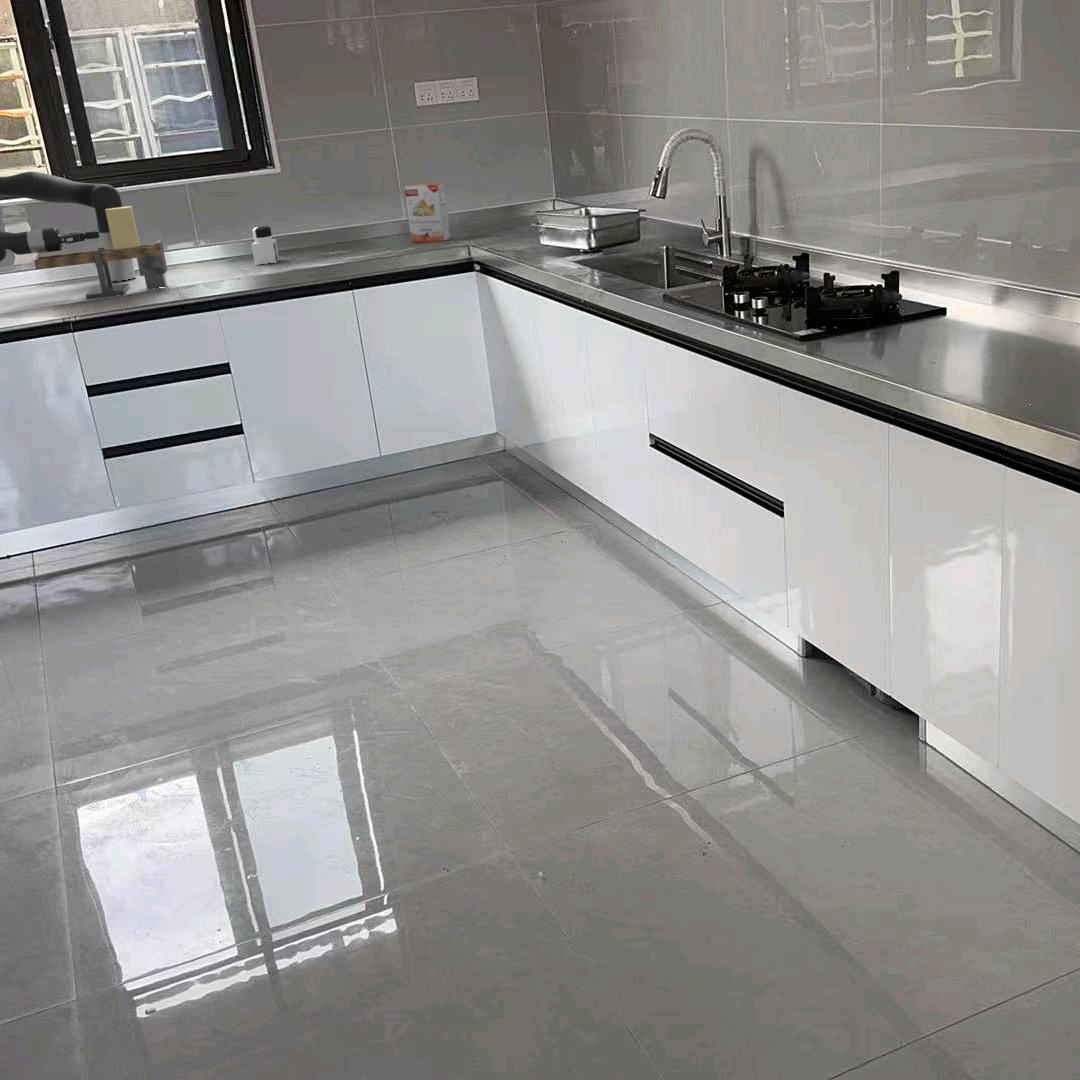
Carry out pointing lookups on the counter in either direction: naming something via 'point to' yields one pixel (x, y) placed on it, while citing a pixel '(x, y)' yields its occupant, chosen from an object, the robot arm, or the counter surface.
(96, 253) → the pivot stand
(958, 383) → the counter surface
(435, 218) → the cracker box
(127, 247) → the rider
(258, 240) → the container
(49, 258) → the beam
